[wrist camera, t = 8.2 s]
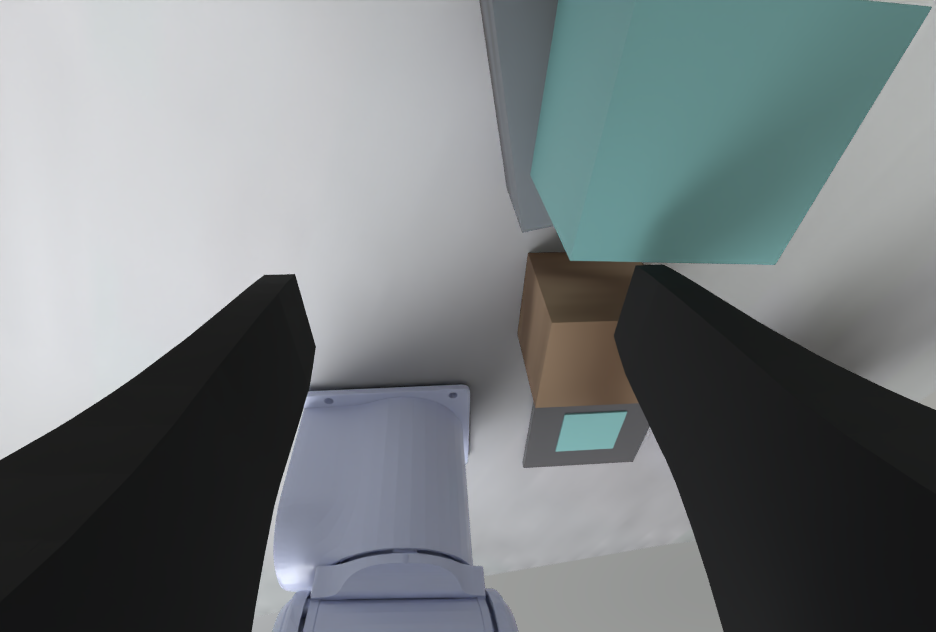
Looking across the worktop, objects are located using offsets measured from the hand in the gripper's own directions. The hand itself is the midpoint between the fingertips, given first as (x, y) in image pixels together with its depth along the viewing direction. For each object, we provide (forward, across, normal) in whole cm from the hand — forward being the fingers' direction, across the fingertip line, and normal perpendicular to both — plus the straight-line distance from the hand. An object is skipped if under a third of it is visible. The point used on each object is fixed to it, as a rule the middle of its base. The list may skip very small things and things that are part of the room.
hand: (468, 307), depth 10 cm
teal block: (+6, -5, -3) cm, 8 cm away
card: (+9, -9, +18) cm, 22 cm away
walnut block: (+10, -6, +7) cm, 13 cm away
